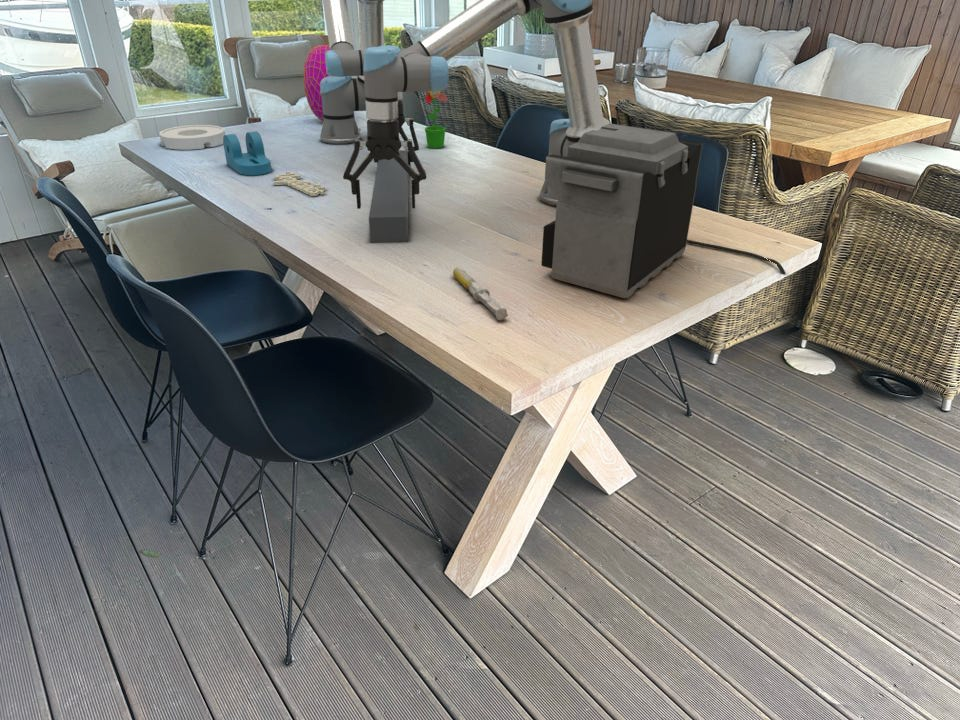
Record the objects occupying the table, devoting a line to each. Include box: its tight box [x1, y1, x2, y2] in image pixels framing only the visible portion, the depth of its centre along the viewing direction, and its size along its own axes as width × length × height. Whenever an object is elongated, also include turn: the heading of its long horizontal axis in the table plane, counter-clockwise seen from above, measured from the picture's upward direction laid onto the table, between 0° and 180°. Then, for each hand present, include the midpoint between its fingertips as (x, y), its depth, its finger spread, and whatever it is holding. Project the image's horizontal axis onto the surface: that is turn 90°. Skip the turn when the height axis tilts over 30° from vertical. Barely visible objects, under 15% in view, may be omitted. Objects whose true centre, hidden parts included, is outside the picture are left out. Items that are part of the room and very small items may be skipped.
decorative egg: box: [303, 44, 330, 122], centre depth 287 cm, size 19×19×30 cm
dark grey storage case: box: [540, 123, 704, 299], centre depth 153 cm, size 37×22×30 cm, turn 144°
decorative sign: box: [273, 171, 326, 197], centre depth 212 cm, size 26×1×10 cm
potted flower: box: [424, 84, 451, 149], centre depth 252 cm, size 9×8×25 cm
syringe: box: [452, 266, 509, 321], centre depth 145 cm, size 25×4×3 cm, turn 21°
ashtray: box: [158, 124, 226, 151], centre depth 259 cm, size 23×23×4 cm
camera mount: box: [222, 131, 272, 176], centre depth 226 cm, size 18×10×10 cm, turn 35°
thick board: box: [368, 149, 410, 243], centre depth 200 cm, size 67×9×6 cm, turn 5°
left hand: (394, 172), depth 226 cm, fingers closed on thick board, 9 cm apart
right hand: (386, 207), depth 173 cm, fingers open, 13 cm apart
